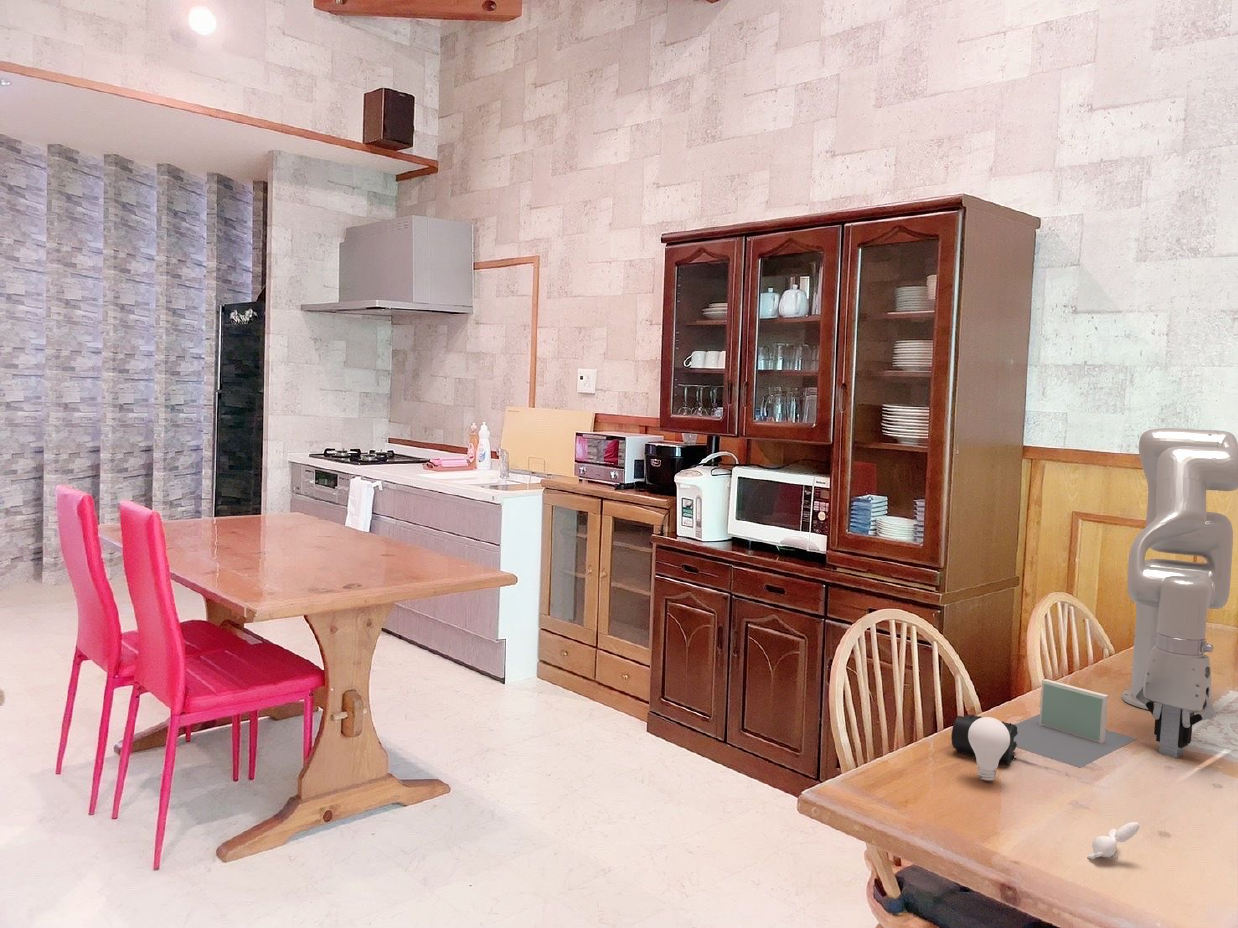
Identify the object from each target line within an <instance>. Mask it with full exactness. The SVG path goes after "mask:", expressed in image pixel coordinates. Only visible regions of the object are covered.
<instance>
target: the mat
mask: <svg viewBox="0 0 1238 928" xmlns="http://www.w3.org/2000/svg"><path fill="white" fill-rule="evenodd" d="M1039 721H1040V713H1039V714H1037V715H1035V716H1032V717H1029V718H1027V719H1025V720H1022V721H1019V722H1017V723H1014V725H1016V726H1017V732H1018V734H1017V735H1016V736H1015V737H1014V741H1015V742H1016V744H1017V746H1016V749H1020V750H1024V751H1026V752H1029V753H1032V754H1035V755H1038V756H1041V757H1043V758H1044V757H1045V758H1048V759H1051V760H1054V761H1056V762H1060V763H1064V764H1067V765H1069V766H1071V767H1075V768H1079V769H1081V768H1083V767H1085V766H1087V765H1089V764H1090V763H1093V762H1094V761H1097V760H1099V759H1100V758H1103V757H1104V756H1106V755H1107V756H1108V755H1109V754H1111V753H1113V752H1115V751H1117V750H1119V749H1121V748H1122V747H1125V746H1126V745H1129V744H1131V743H1132V742H1134V741H1136V740H1138V738H1136V737H1133V736H1129V735H1126V734H1122V733H1119V732H1115V731H1112V730H1108V729H1106V732H1105V742H1104V743H1098V742H1095V741H1092V740H1088V739H1085V738H1082V737H1078V736H1075V735H1072V734H1068V733H1065V732H1062V731H1059V730H1055V729H1052V728H1049V727H1045V726H1042V725H1039Z"/></svg>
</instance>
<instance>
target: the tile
mask: <svg viewBox="0 0 1238 928" xmlns="http://www.w3.org/2000/svg"><path fill="white" fill-rule="evenodd" d="M1040 696H1041V697H1040V709H1039V710H1040V711H1039V714H1040V721H1039V725H1042V726H1045V727H1049V728H1052V729H1055V730H1059V731H1062V732H1065V733H1068V734H1072V735H1075V736H1078V737H1082V738H1085V739H1088V740H1092V741H1095V742H1098V743H1104V742H1105V732H1106V730H1107V718H1108V717H1107V715H1108V706H1109V705H1108V704H1109V695H1108V694H1104V693H1101V692H1096V691H1094V690H1088V689H1085V688H1081V687H1077V686H1074V685H1070V684H1066V683H1063V682H1058V681H1054V680H1051V679H1047V678H1045V679H1042V682H1041V693H1040Z"/></svg>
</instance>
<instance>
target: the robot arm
mask: <svg viewBox="0 0 1238 928" xmlns="http://www.w3.org/2000/svg"><path fill="white" fill-rule="evenodd" d="M1138 454H1139V455H1138V456H1139V459H1140V460H1139V461H1140V465H1141V468H1142V470H1143V473H1144V475H1145V479H1146V482H1147V488H1148V489H1147V502H1146V503H1147V506H1146V518H1145V519H1146V521H1145V527H1144V528H1143V529H1142V530H1140V532H1139V533H1138V534H1137V536H1136V537H1135V539H1134V541H1133V542H1132V545H1130V551H1129V554H1128V564H1127V565H1128V566H1127V592H1128V596H1129V599H1130V600H1131V601H1132V602H1133V603H1135V604H1136V605H1135V608H1136V609H1135V613H1136V614H1135V627H1134V639H1133V640H1134V641H1133V655H1132V668H1131V679H1130V680H1131V681H1130V689H1127V690H1124V691H1122V693H1121V699H1122V700H1123V701H1124V702H1125V703H1127V704H1129V705H1131V706H1134V707H1135V708H1136V707H1137V708H1141V709H1144V710H1149V712H1150V713H1151V715H1152V718H1153V719H1154V729H1153V730H1154V732H1153V733H1154V735H1155V737H1156V738H1155V740H1156V742H1159V743H1160V733H1161V721H1162V708H1163V704H1164V705H1167V706H1171V707H1175V708H1179V709H1182V726H1180V727H1179V737H1178V747H1179V748H1183V747H1184V748H1185V747H1187V746H1189V745H1190V743H1192V742H1191V741H1192V736H1193V735H1192V734H1193V726H1194V725H1195V724H1197V723H1199V722H1200V721H1201V722H1202V721H1206V720H1211V719H1214V718H1216V717H1217V713H1216V711H1215V708H1214V707H1213V704H1212V669H1211V662H1210V656H1209V655H1207V654H1205V653H1213V650H1214V645H1213V644H1210V643H1207V638H1206V631H1207V629H1206V628H1207V620H1208V619H1207V617H1208V610H1210V609H1211V610H1218V609H1222V608H1224V607H1225V605H1227V603H1228V600H1229V598H1230V597H1229V596H1230V591H1231V581H1232V580H1231V577H1232V576H1231V575H1232V561H1233V560H1232V559H1233V547H1234V546H1233V545H1234V531H1233V525H1232V523H1231V520H1230V519H1229V517H1227V516H1226V515H1225V514H1223V513H1220V512H1219V513H1218V512H1213V511H1212V512H1211V511H1207V491H1220V492H1233V491H1236V490H1238V440H1237V438H1236V436H1235V435H1234V434H1233V433H1232V432H1229V431H1226V430H1216V429H1214V430H1212V429H1192V428H1177V427H1176V428H1175V427H1174V428H1173V427H1172V428H1171V427H1169V428H1167V427H1163V428H1152V429H1149V430H1145V431H1144V432H1143V433H1142V434H1141V435H1140V437H1139V441H1138ZM1149 549H1151V550H1152V551H1155V552H1158V553H1164V554H1172V555H1173V554H1174V555H1182V556H1194V557H1202V558H1204V559H1205V562H1206V563H1205V562H1198V561H1197V562H1194V561H1185V560H1174V559H1164V558H1150V559H1146V554H1147V552H1148V550H1149ZM1201 711H1202V712H1201Z"/></svg>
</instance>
